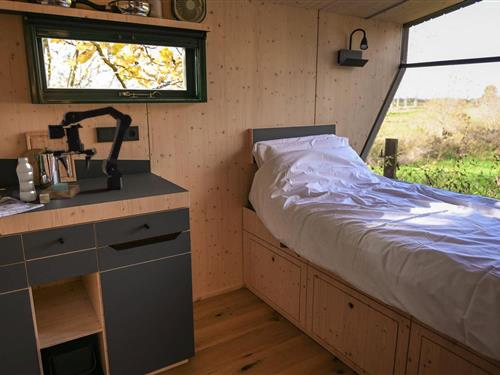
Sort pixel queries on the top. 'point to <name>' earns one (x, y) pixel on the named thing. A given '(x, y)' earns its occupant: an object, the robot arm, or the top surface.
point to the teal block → (60, 187)
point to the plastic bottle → (26, 180)
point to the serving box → (62, 192)
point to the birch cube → (44, 198)
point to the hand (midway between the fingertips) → (77, 170)
